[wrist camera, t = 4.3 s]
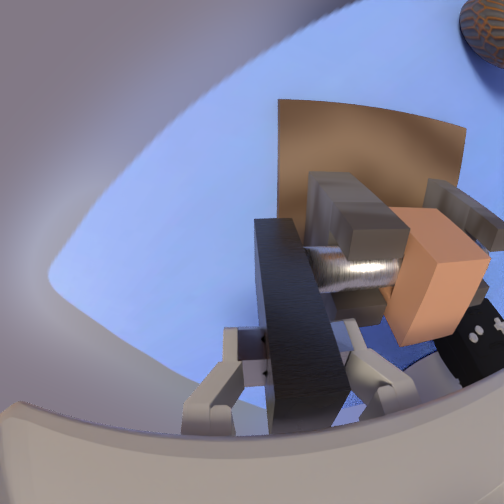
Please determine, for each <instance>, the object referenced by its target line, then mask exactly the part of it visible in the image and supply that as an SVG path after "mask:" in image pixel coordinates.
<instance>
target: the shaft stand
mask: <svg viewBox="0 0 504 504" xmlns="http://www.w3.org/2000/svg"><path fill="white" fill-rule="evenodd" d="M465 137H466V128H463V127H460V126H457V125H454V124H450V123H447V122H443V121H439V120H435V119H431V118H427V117H423V116H418V115H414V114H409V113H404V112H399V111H394V110H388V109H382V108H376V107H369V106H362V105H355V104H346V103H336V102H325V101H311V100H289V99H278V182H277V218H292V219H293V222H294V224H295V227H296V229H297V232H298V235H299V237H300V240H301V242H302V245H303V247H314V246H339V247H340V248H341V250H342V252H343V254H344V256H345V257H346V259H347V261H363V260H380V259H396V258H403V255H404V252H405V248H406V245H407V241H408V237H409V233H410V228H409V227H408V226H407V225H406V224H405V223H404V222H403V221H402V220H401V219H400V218H399V217H398V216H397V215H396V214H395V213H394V212H393V211H392V210H391V209H390V208H389V207H410V208H436V209H438V210H439V211H440V212H441V213H443V214H444V215H445V216H446V217H447V218H449V219H450V220H451V221H452V222H453V223H454V224H455V225H457V226H458V227H459V228H460V229H461V230H462V231H463V232H464V233H465V234H467V235H468V236H469V237H470V238H471V239H472V240H473V241H476V240H478V241H479V242H480V243H481V244H482V245H483V246H484V247H485V248H486V249H488V250H489V251H490V252H494V251H504V221H503V220H501V219H500V218H499V217H497V216H496V215H495V214H494V213H492V212H491V211H490V210H488V209H487V208H486V207H484V206H483V205H481V204H480V203H479V202H477V201H476V200H474V199H473V198H471V197H470V196H469V195H467V194H466V193H464V192H463V191H461V190H460V189H458V188H457V184H458V179H459V174H460V169H461V163H462V157H463V151H464V144H465ZM488 289H489V286H488V284H487V283H486V282H485V281H484V280H483V279H482V280H481V282H480V285H479V287H478V289H477V291H476V293H475V295H474V297H473V299H472V301H471V302H470V304H469V306H468V307H471V306H475V305H479V304H481V303H482V301H483V299H484V297H485V295H486V293H487V291H488ZM320 294H321V297H322V300H323V303H324V306H325V309H326V312H327V315H328V318H329V321H334V320H343V319H352V318H354V319H355V320H356V322H357V325H358V327H364V326H372V325H378V324H380V322H381V320H382V317H383V314H384V312H385V309H386V306H387V303H386V301H385V299H384V297H383V295H382V294H381V292H380V290H379V288H375V289H364V290H353V291H342V292H330V293H320Z"/></svg>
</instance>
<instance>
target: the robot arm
mask: <svg viewBox="0 0 504 504" xmlns="http://www.w3.org/2000/svg"><path fill="white" fill-rule="evenodd" d="M330 324H331V327H332V330H333V333H334V336H335V339H336V342H337V345H338V348H339V351H340V355H341V358H342V361H343V364H344V367H345V371H346V374H347V377H348V381H349V384H350V387H351V390H352V391H353V392H354V393H355V394H356V395H357V396H358V397H359V398H360V399H361V400H362V401H363V402H364V403H365V404H366V405H367V407H366V408H365V410H364V411H363V413H362V414H361V415H360V417H359V422H354V423H349V424H345V425H339V426H334V427H328V428H322V429H315V430H308V431H300V432H291V433H281V434H269V435H251V436H236V431H235V427H234V422H233V417H232V411H231V409H232V407H233V406H234V404H235V403H236V401H237V399H238V398H239V396H240V395H241V393H242V391H243V390H244V387H253V386H266V370H267V355H266V344H265V343H264V336H265V334H264V327H238V328H237V327H224V331H223V361H222V362H218V363H217V364H216V366H215V367H214V368H213V369H212V370H211V372H210V373H209V374H208V375H207V377H206V378H205V379H204V380H203V381H202V382H201V384H200V385H199V386H198V387H197V389H196V390H195V391H194V392H193V393H192V394H191V395H190V397H189V398H188V399H187V400H186V401H185V403H184V406H183V416H182V427H181V435H179V434H167V433H157V432H149V431H141V430H134V429H127V428H122V427H116V426H111V425H106V424H101V423H96V422H92V421H87V420H83V419H79V418H75V417H72V416H68V415H64V414H61V413H57V412H54V411H51V410H48V409H44V408H42V407H39V406H36V405H33V404H30V403H28V402H24V401H18V402H16V403H14V404H13V405H11V406H10V407H8V408H7V409H6V410H4V411H3V412H2V413H0V504H504V368H503V369H501V370H499V371H497V372H496V373H494V374H492V375H490V376H488V377H486V378H484V379H482V380H480V381H477V382H475V383H473V384H471V385H469V386H466V387H464V388H462V386H461V385H460V384H459V383H460V382H459V380H458V379H455V377H454V376H453V375H452V374H451V372H450V371H449V370H448V368H447V366H446V365H445V363H444V362H443V360H442V359H441V357H440V355H439V353H438V351H437V352H435V353H433V354H430V355H428V356H427V357H425V358H423V359H421V360H419V361H418V362H416V363H415V364H413V365H412V366H410V367H409V368H407V369H406V370H405V371H403V372H402V371H401V370H400V369H398V368H397V367H396V366H394V365H393V364H392V363H390V362H389V361H387V360H386V359H385V358H383V357H382V356H381V355H379V354H378V353H377V352H375V351H374V350H372V349H371V348H368V349H367V346H366V344H365V342H364V339H363V337H362V334H361V332H360V329H359V327H358V325H357V322H356V320H355V319H354V318H352V319H343V320H334V321H330Z"/></svg>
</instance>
